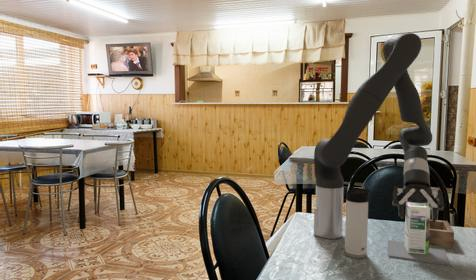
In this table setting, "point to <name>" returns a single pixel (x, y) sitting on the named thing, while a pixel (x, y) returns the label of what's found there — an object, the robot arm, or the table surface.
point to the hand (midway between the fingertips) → (417, 219)
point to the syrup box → (417, 228)
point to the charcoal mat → (434, 256)
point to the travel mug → (356, 223)
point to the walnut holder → (441, 234)
